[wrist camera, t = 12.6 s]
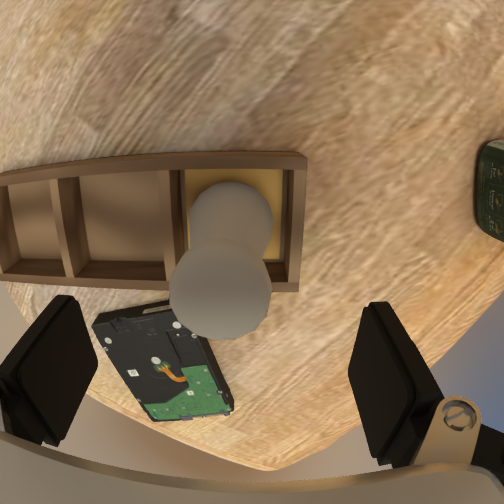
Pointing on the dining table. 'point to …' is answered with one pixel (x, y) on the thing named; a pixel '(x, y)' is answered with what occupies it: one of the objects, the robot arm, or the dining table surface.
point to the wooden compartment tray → (138, 216)
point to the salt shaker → (224, 264)
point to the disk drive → (164, 363)
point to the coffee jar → (491, 189)
